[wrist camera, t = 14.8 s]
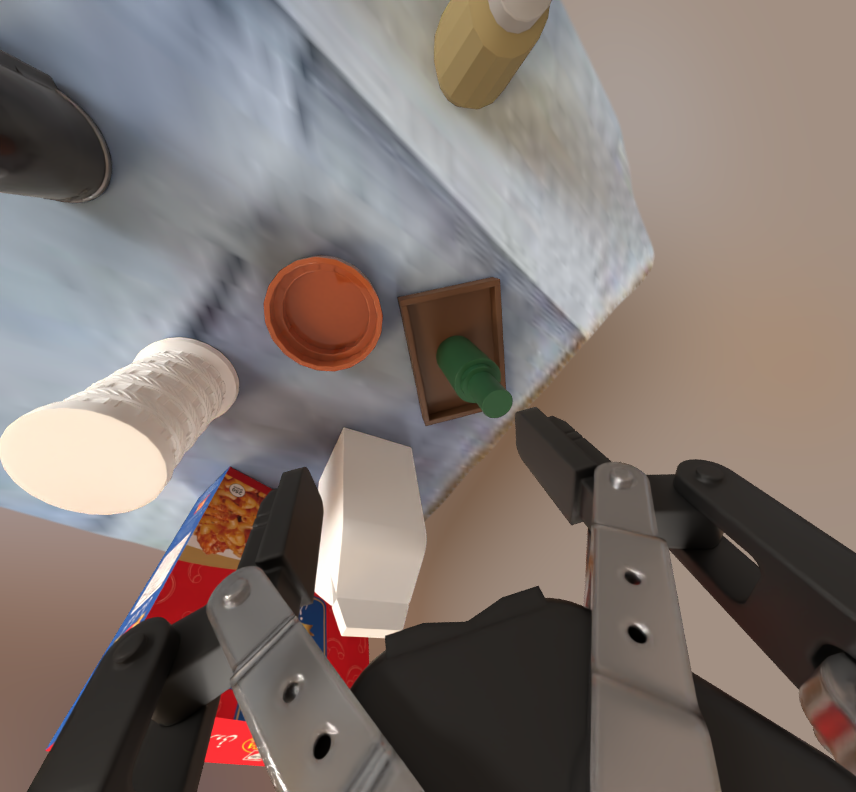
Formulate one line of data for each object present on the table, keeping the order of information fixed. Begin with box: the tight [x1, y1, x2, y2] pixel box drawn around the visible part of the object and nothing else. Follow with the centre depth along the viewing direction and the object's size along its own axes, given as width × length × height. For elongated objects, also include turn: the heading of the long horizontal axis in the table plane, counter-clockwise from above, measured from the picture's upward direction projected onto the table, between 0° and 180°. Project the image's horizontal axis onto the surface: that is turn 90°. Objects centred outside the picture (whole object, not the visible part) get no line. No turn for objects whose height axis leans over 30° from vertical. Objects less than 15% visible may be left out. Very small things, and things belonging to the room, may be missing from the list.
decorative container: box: [0, 337, 239, 515], centre depth 33 cm, size 12×12×18 cm
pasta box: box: [46, 467, 369, 766], centre depth 43 cm, size 28×8×28 cm, turn 42°
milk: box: [315, 427, 427, 638], centre depth 42 cm, size 12×12×26 cm
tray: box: [398, 277, 506, 426], centre depth 46 cm, size 20×14×3 cm
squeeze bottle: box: [434, 0, 552, 109], centre depth 25 cm, size 8×8×18 cm
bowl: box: [264, 255, 383, 371], centre depth 39 cm, size 13×13×5 cm
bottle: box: [436, 336, 513, 418], centre depth 40 cm, size 6×6×16 cm
